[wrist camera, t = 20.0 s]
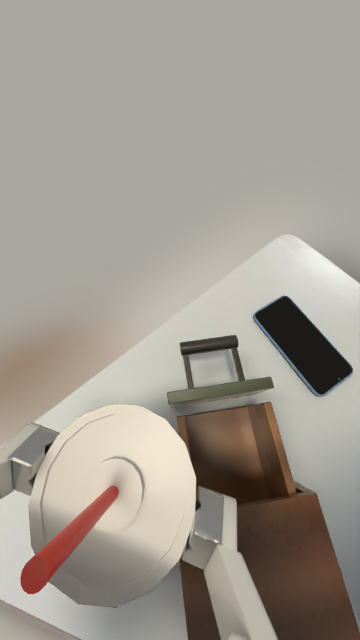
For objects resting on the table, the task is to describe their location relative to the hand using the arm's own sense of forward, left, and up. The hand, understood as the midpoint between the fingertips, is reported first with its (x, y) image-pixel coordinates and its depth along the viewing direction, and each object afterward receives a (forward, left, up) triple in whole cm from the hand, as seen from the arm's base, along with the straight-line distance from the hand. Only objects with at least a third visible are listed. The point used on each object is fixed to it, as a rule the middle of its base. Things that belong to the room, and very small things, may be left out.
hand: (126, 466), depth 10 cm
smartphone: (-22, -10, -23) cm, 33 cm away
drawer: (-7, 0, -22) cm, 23 cm away
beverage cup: (0, +1, -8) cm, 8 cm away
